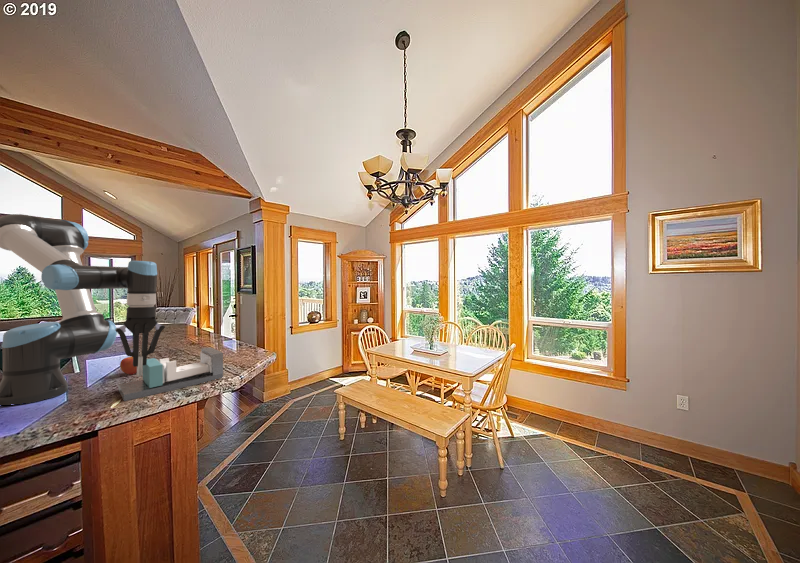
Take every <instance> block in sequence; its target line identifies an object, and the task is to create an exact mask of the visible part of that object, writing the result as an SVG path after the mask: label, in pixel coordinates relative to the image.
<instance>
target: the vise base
mask: <svg viewBox="0 0 800 563" xmlns="http://www.w3.org/2000/svg"><path fill="white" fill-rule="evenodd" d="M222 377H223V378H224V373H223V374H218V375H214V376H213V375H211V374H210V373H208V372H205V373H201V374H197V375H193V376H189V377H185V378H180V379H176V380H172V381H168V382H165V383H163V385H161V386H157V387H152V388H149V387H148V385H147V384H146V383H145V382H144V380H143V379H140V380H133V381H129V382H125V383H123V382H122V383H118V386H117V387H118V392H119V395H120V396H121V398H122V400H123V402H127V401H131V400H135V399H140V398H145V397H148V396H154V395H157V394H162V393H166V392H170V391H171V392H172V391H174V390H179V389H183V387H184V388H188V387H187V386H189V387H193V386H196V385H201V384H200V383H202V384H205V383H204V382H206V383H208V382H207V381H210V382H212V381H211V380H215V379H219V378H222ZM219 380H220V379H219ZM215 381H216V380H215ZM192 385H193V386H192Z"/></svg>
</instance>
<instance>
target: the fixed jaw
mask: <svg viewBox="0 0 800 563" xmlns="http://www.w3.org/2000/svg"><path fill="white" fill-rule="evenodd" d="M200 350H201V351H200V361H199V362H201V363H204V364H207V365H208V373H210V374H211V375H213V376H214V375H218V374H223V375H224V352H222V351H219V350H218V349H215V348H214V347H210V346H209V347H202V348H200Z"/></svg>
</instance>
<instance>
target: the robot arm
mask: <svg viewBox="0 0 800 563" xmlns="http://www.w3.org/2000/svg"><path fill="white" fill-rule="evenodd" d="M89 238H90V237H89V234H88V232H87V230H86V229H85V228H84V226H83V225H81V224H79V223H77V222H74V221H70V220H66V219H56V218H55V219H54V218H48V217H42V216H35V215H30V214H29V215H28V214H21V213H19V214H18V213H16V214H15V213H12V214H6V215H3V216H2V215H1V216H0V249H2V250H5V251H9V252H12V253H13V254H15V255H17V256H18V257H19V258H21V259H22V260H24V261H25V262H26V263H27V264H29V265H31V267H33V268H35V269H36V270H38V271H39V272H40V273H41V276H40V277H41V278H40V279H41V282H42V283H43V286H44V287H45V288H47V289H49V290H53V291H55V295H56V297H57V301H58V304H59V308H60V312H61V315H62V318H61V319H60V320H59V321H58V322H57V321H49V322H41V323H33V324H25V325H22V326H17V327H14V328H11V329H9V330H8V329H7V330H6V331H5V332H4V333H3V336H2V343H1V348H2V349H1V350H2V378H1V380H0V405H11V404H20V405H23V404H22V403H26V404H32V403H36V401H37V402H41V401H45V400H48V398H49V399H51V398H55V397H58V396H60V395H63V394H65V393H67V392H68V391H69V383H68V381H67V379H66V377H65V376H64V374H63V373H62V370H61V360H64V359H71V358H74V357H80V356H85V355H91V354H92V355H93V354H96V353H101V352H104V351H107V350H108V349H110V348H111V347H112V346H114V343H115V341H116V339H117V334H118V335H119V338H120V341H121V343H122V347H123V350H124V353H125V355H126V356H127V357H133V366H134V367H136V366H137V373H136V376H137V377H143V368H142V366H143V365H146V364H147V359H148V355H150V354H153V353H155V350H156V347H157V343H158V342H159V339H160V335H161V333H162V331H164V329H165V327H166V326H165V325H164V324H161V323H158V320H157V318H156V317H157V315H156V314H157V312H156V311H157V307H156V306H155V305H156V304H157V284H158V267H157V266H158V265H157V263H156V262H154V261H148V260H130V261H129V262H128V264H127V266H105V265H103V266H102V265H100V266H98V265H83V263H82V260H81V256H82V255H83V254H84V252H85V250H86V249H87V247H88V246H89V240H90V239H89ZM108 289H109V290H110V289H113V290H115V289H118V290H119V289H126V290H127V291H126V305H127V306H128V307H127V308H126V318H125V321H124V322H123V323H124V324H122V325H121V326H120V327H117V326H116V324H115V323H114V322H113V320H108V319H105V317H104V314H103V313H101V312H99V311H97V309H96V306H95V302H94V300H93V299H94V298H93V297H92V293H91V290H108ZM153 328H154V330H155V331H154V333H153V336H152V339H151V342H150V345H149V334H150V332H151V331H152V330H153ZM126 329H127V330H128V331H129V332H130V333H132V350H131V347H130V344H129V342H128V339H127V335H126V334H125V333H126V331H127V330H126ZM140 334H142V337H141V340H142V341H141V355H139V354H140V351H139V349H140V346H139V345H140V342H139V341H140ZM44 399H45V400H44ZM31 402H32V403H31Z"/></svg>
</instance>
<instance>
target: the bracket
mask: <svg viewBox="0 0 800 563" xmlns="http://www.w3.org/2000/svg"><path fill="white" fill-rule="evenodd" d="M158 360H159V362H161V363H162V364H163V365H164V381H165V382H168V381H172V380H176V379H180V378H185V377H189V376H193V375H197V374H201V373H205V372H208V365H207V364H204V363H201V362H200V361H199V362H193V363H189V364H185V365H180V366H177V360H172V361H171V360H170V358H169V357H165V358H160V359H158Z"/></svg>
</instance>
